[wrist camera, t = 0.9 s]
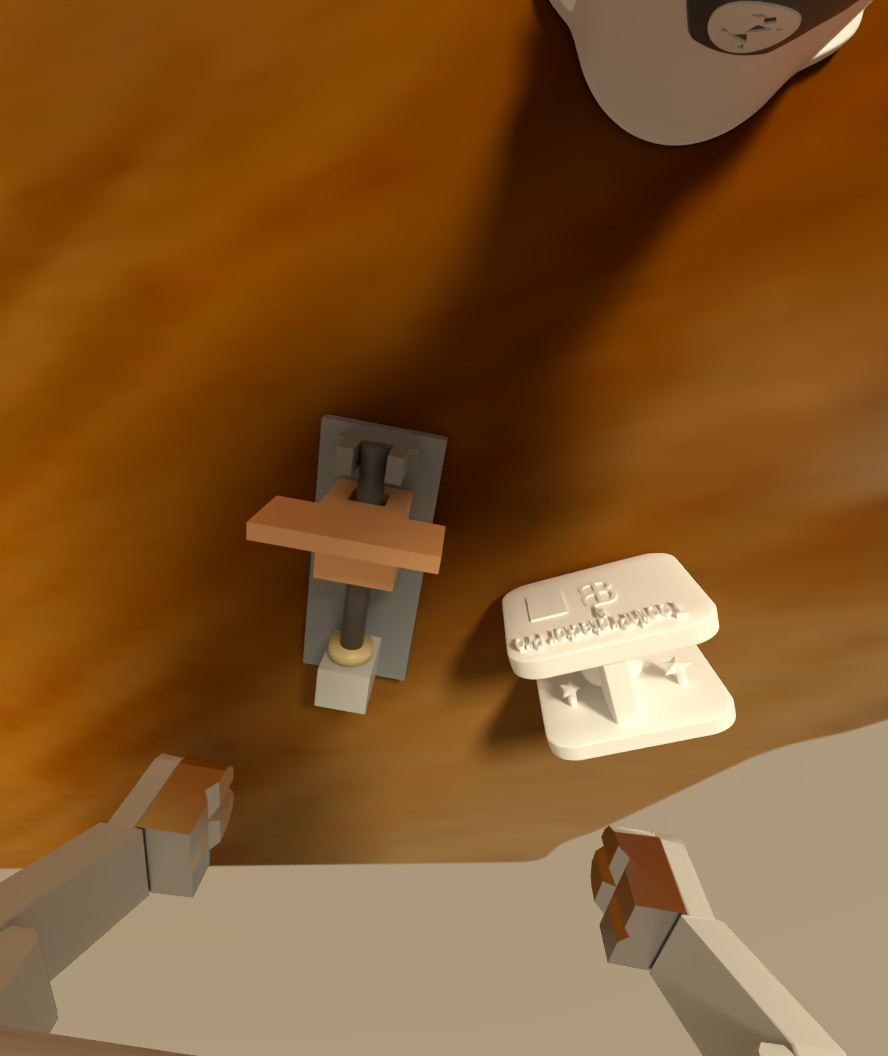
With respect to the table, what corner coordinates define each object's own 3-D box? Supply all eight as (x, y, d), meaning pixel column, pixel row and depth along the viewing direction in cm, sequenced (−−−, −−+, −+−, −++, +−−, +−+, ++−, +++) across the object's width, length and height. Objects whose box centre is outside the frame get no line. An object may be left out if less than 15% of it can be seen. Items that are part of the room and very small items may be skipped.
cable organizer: (527, 672, 49) (543, 770, 39) (498, 582, 46) (506, 662, 35) (683, 637, 47) (746, 731, 36) (666, 538, 43) (729, 610, 32)
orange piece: (303, 471, 40) (246, 521, 30) (449, 498, 41) (441, 557, 30) (299, 538, 43) (245, 605, 33) (437, 562, 43) (425, 638, 33)
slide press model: (327, 414, 40) (298, 432, 34) (448, 436, 41) (443, 459, 34) (307, 653, 50) (282, 704, 43) (406, 670, 50) (395, 724, 43)
